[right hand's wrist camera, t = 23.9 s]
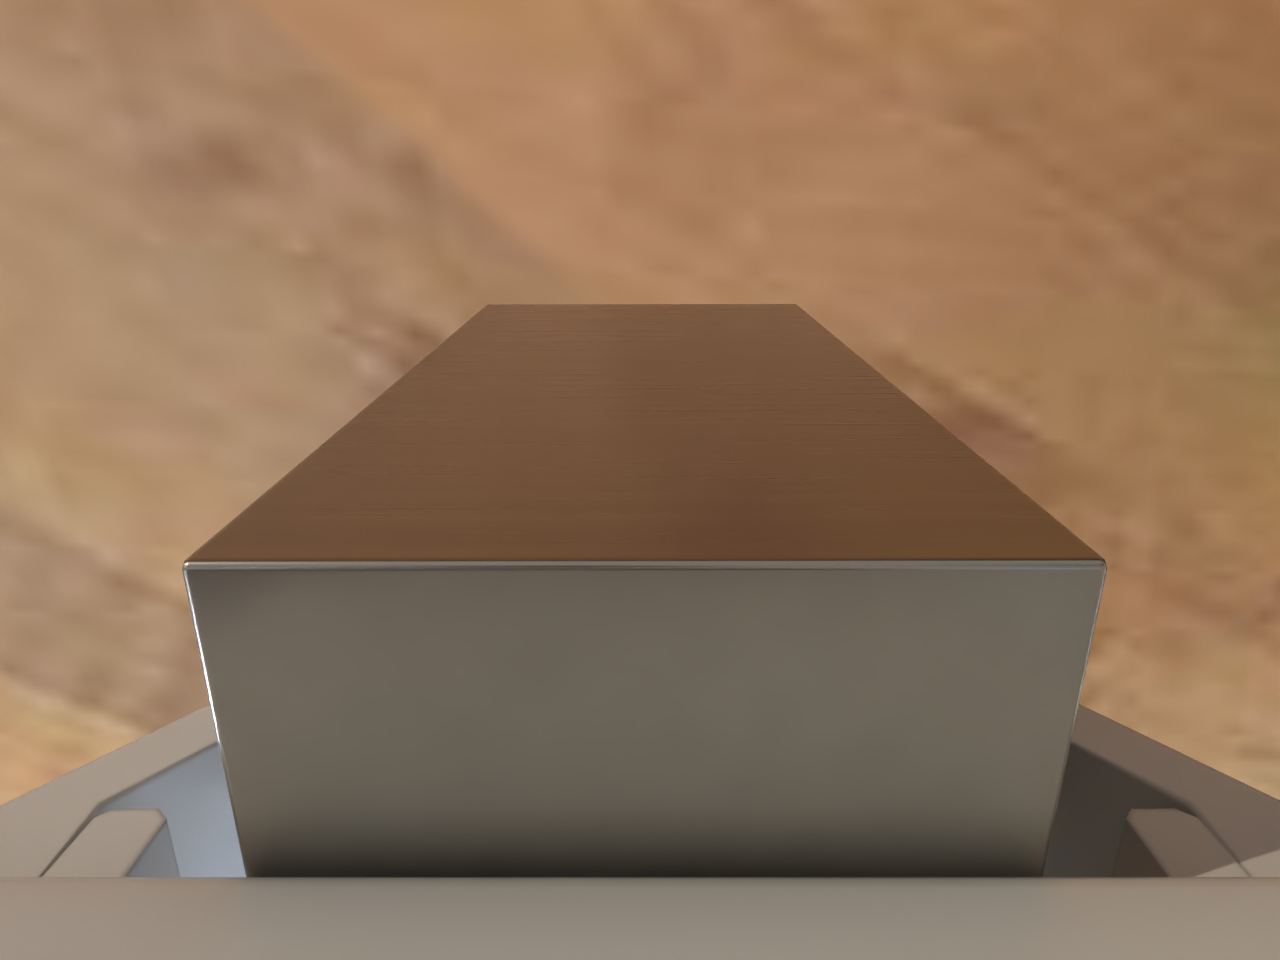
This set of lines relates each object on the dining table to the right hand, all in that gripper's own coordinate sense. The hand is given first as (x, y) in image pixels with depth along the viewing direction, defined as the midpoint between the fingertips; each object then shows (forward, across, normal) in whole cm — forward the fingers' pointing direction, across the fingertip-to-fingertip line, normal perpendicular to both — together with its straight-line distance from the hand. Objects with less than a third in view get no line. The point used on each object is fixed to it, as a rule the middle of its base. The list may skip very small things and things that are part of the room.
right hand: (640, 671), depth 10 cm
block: (+5, 0, 0) cm, 5 cm away
